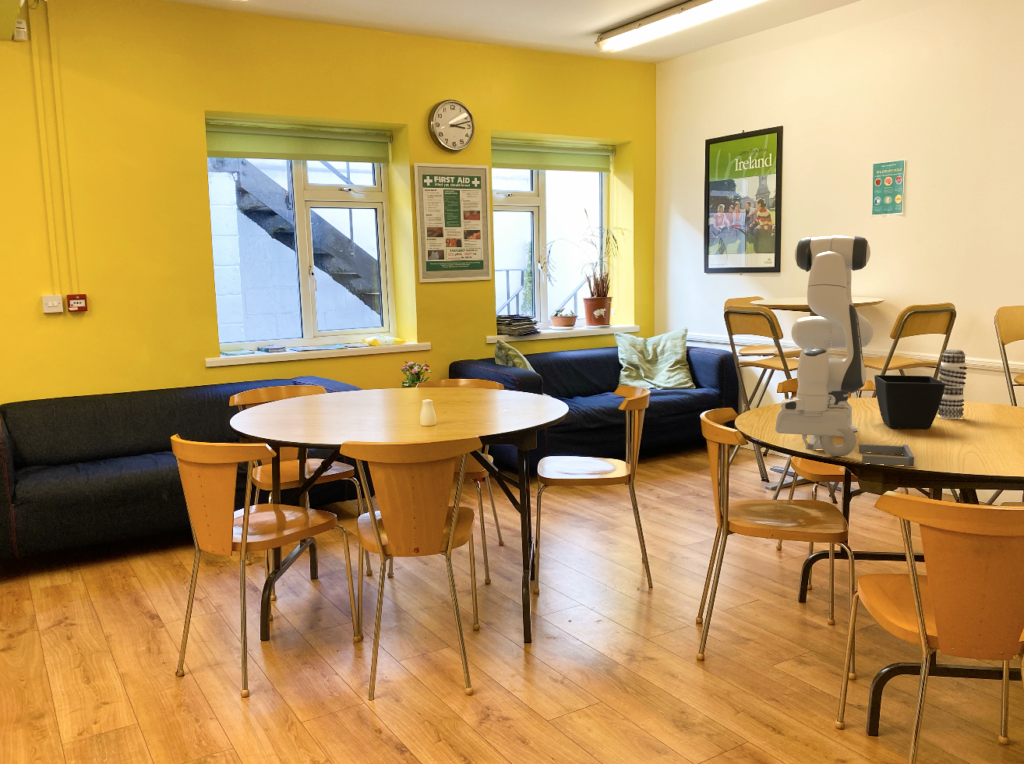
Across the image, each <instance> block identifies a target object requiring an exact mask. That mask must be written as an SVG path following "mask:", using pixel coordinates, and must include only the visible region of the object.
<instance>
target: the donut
mask: <svg viewBox="0 0 1024 764" xmlns="http://www.w3.org/2000/svg"><path fill="white" fill-rule="evenodd" d="M836 430H837V431H839V432H841V433H843V434H844V437H842V439H843V443H841V444H840V445H837V444H835V443H834V442H833V437H834V436H820V444H821V446H822V448H823V450H822V451H824V452H825V454H828V455H829V456H831V455H832V456H831V457H835V456H843V457H845V456H848V455H849V454H851V453H853V451H854V449H855V448H856V443H857V437H856V434H855V431H853V430H852V429H851V428H850V427H848V429H847V430H845V429H843V428H838V429H836Z"/></svg>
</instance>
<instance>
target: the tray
mask: <svg viewBox="0 0 1024 764" xmlns="http://www.w3.org/2000/svg"><path fill="white" fill-rule="evenodd" d="M859 452H871V453H870V454H862V455H861V464H862V463H870V464H884V465H904V466H915V456H914V454H913V452H912V450H911V448H910V447H909V444H902V445H889V444H871V443H870V444H869V443H867V444H865V443H859V444H858V453H859ZM873 453H884V454H883V455H876V454H875V455H874V454H873ZM871 454H873V455H871ZM891 454H903V455H902V456H893V455H892V456H891ZM886 455H887V456H886ZM888 455H890V456H888ZM884 465H883V466H884Z"/></svg>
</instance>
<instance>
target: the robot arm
mask: <svg viewBox="0 0 1024 764" xmlns="http://www.w3.org/2000/svg"><path fill="white" fill-rule="evenodd" d="M870 258H871V247H870V244H869V241H868V239H866V238H865V237H863V236H858V235H857V236H856V235H854V236H850V235H849V236H847V235H827V236H826V235H825V236H817V237H812V236H809V237H804V238H803V237H802V238H801V239H799V241H798V242H797V245H796V246H795V250H794V260H795V262H796V266H797V267H798V268H799V269H800V270H803V271H805V272H807V273H809V275H808V282H807V290H806V293H807V294H806V296H807V297H806V299H807V301H806V302H807V305H808V307H809V308H810V310H811V311H812V313H814V314H816V315H815V316H814V315H811V316H806V317H805V316H804V317H800V318H798V319H796V320H795V321H794V323H793V325H792V327H791V330H790V331H791V338H792V340H793V342H794V344H795V345H796V346H797V347H799V348H801V351H800V353H799V354H800V355H799V358H798V364H797V369H796V370H797V371H796V372H797V373H796V380H797V383H798V387H797V391H796V396H794V397H791V398H785V399H783V400H782V401H781V402H780V409H779V410H778V413H777V416H776V421H775V432H776V433H777V434H781V435H783V434H784V435H801V437H802V440H803V442H804V444H805V451H815V445H816V444H817V442H818V441H819V439H820V436H833V437H842V438H843V437H844V434H843V433H841V432H839V431H837V430H836V429H838V428H843V429H845V430H847V429H848V427H850V428H851V429H852V430H853V432H858V431H859V430H858V427H857V426H856V425H854V424H853V406H852V405H851V404H850V403H849V402H848V400H849V393H851V394H854V393H856V392H858V391H859V390H861V389H863V387H864V386H865V384H866V382H867V371H866V367H865V364H864V357H863V348H864V347H865V348H866V347H867V346H868V345H869V344H870V343H871V341H872V339H873V337H874V329H873V326H872V323H871V322H870V320H868V319H867V318H866V317H864V316H863V315H862V314H861V313H859V312H858V310H857V309H856V307H855V305H854V303H853V299H852V298H853V297H852V272H855V271H858V270H862V269H865V267H866V266H867V264H868V262H869V261H870ZM831 349H832V350H833V349H836V350H837V349H840V350H846V357H844V358H835V357H833V356H832V355H831V354H829V350H831ZM857 430H858V431H857ZM811 435H815V439H816V440H815V441H814V443H810V442H808V440H807V439H808V436H811Z"/></svg>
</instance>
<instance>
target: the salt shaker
mask: <svg viewBox="0 0 1024 764" xmlns="http://www.w3.org/2000/svg"><path fill="white" fill-rule="evenodd" d="M809 439H810V441H809V443H814V441H815V440H816V439H815V435H810V438H809ZM815 449H823V448H822V446H821V444H820V439H819V441H818V442H817V444H816V445H815Z"/></svg>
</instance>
